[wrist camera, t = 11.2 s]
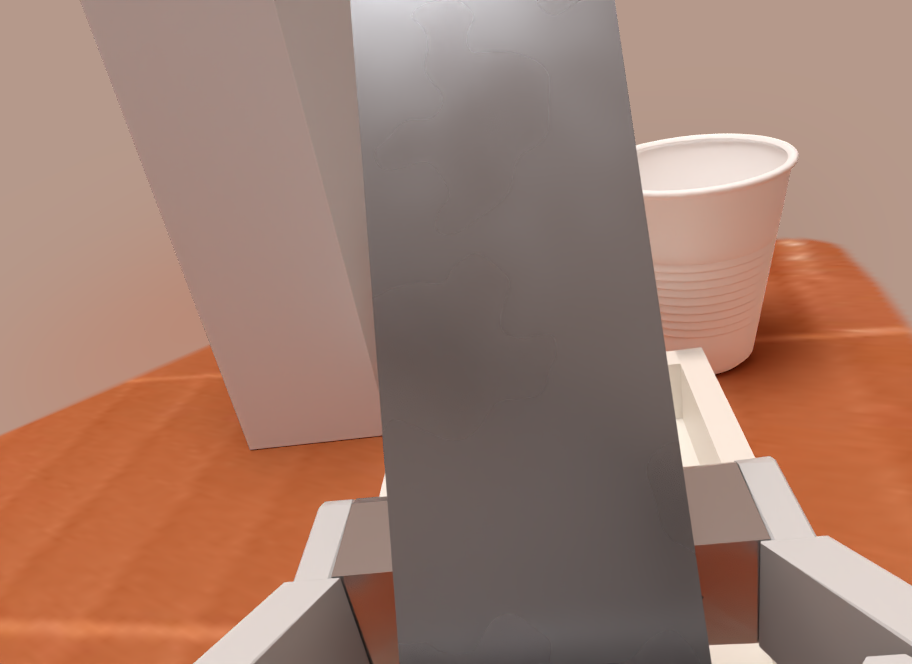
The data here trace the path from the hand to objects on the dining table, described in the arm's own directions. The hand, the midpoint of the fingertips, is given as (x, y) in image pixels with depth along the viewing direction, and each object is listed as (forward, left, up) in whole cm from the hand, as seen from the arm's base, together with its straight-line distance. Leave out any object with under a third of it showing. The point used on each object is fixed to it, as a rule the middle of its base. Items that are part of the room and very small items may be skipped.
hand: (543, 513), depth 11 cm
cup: (+8, +28, -14) cm, 32 cm away
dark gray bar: (0, -3, +1) cm, 3 cm away
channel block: (-13, +31, -14) cm, 36 cm away
